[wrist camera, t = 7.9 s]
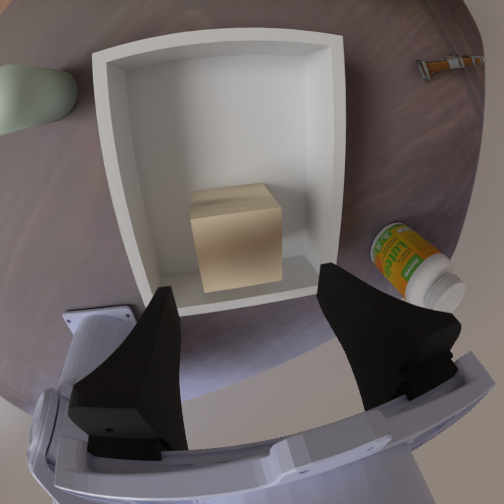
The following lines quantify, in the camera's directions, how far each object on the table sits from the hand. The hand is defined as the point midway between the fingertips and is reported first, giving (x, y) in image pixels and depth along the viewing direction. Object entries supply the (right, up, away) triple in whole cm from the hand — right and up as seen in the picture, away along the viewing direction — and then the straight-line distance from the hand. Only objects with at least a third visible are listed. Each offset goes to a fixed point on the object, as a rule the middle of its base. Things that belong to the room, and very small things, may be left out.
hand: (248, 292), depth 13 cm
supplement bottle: (+14, +3, +13) cm, 19 cm away
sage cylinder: (-14, +13, 0) cm, 19 cm away
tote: (-2, +8, +6) cm, 10 cm away
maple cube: (-1, +4, +7) cm, 9 cm away
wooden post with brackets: (+18, +20, +4) cm, 27 cm away
